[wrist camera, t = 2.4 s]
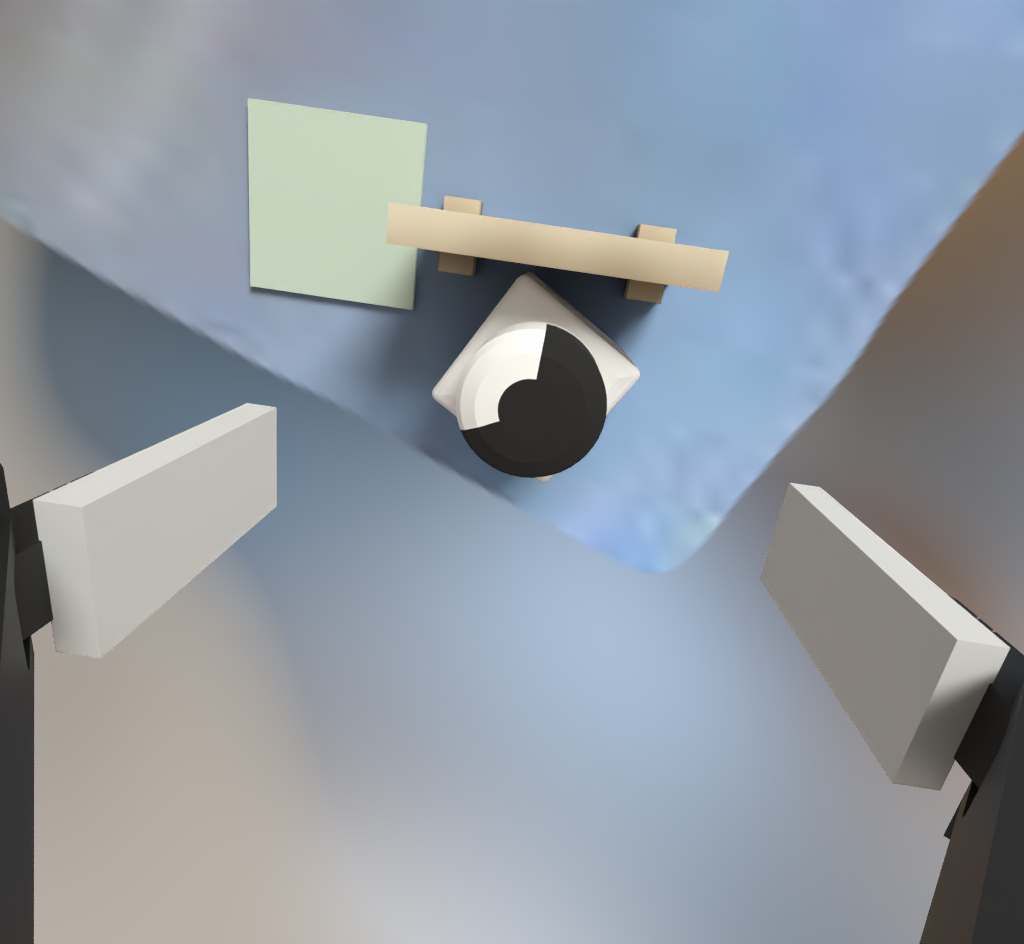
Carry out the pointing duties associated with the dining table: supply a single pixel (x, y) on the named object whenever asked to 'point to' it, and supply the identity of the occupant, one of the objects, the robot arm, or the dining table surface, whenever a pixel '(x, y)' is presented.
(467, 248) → the screen
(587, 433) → the container
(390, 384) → the dining table surface
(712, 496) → the dining table surface
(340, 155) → the mat
